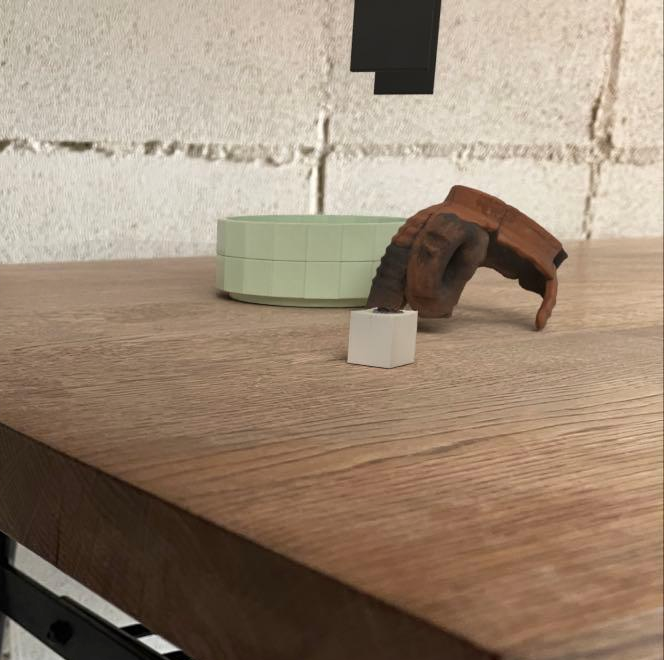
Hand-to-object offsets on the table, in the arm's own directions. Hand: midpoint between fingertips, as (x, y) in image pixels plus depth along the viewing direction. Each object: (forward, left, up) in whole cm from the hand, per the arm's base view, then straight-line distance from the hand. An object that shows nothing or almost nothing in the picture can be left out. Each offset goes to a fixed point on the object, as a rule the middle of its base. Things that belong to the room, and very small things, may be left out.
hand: (397, 85), depth 46 cm
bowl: (-14, -22, -11) cm, 28 cm away
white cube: (0, 0, -12) cm, 12 cm away
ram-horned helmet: (-11, -7, -12) cm, 18 cm away
